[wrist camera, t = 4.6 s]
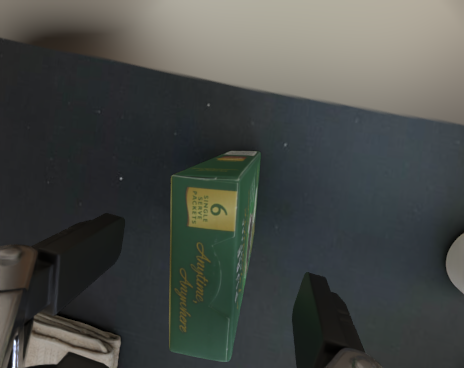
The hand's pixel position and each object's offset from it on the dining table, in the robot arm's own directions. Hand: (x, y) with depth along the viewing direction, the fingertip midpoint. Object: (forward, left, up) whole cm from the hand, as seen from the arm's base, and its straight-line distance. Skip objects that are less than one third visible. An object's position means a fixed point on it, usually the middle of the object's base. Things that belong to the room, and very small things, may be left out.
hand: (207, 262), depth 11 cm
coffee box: (0, 0, -12) cm, 12 cm away
